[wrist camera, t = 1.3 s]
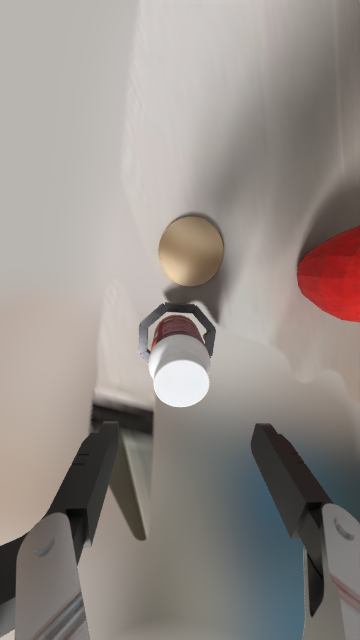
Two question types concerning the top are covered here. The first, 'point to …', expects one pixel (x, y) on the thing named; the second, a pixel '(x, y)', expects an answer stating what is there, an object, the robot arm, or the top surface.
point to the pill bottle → (179, 362)
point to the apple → (334, 275)
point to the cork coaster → (191, 251)
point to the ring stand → (180, 308)
